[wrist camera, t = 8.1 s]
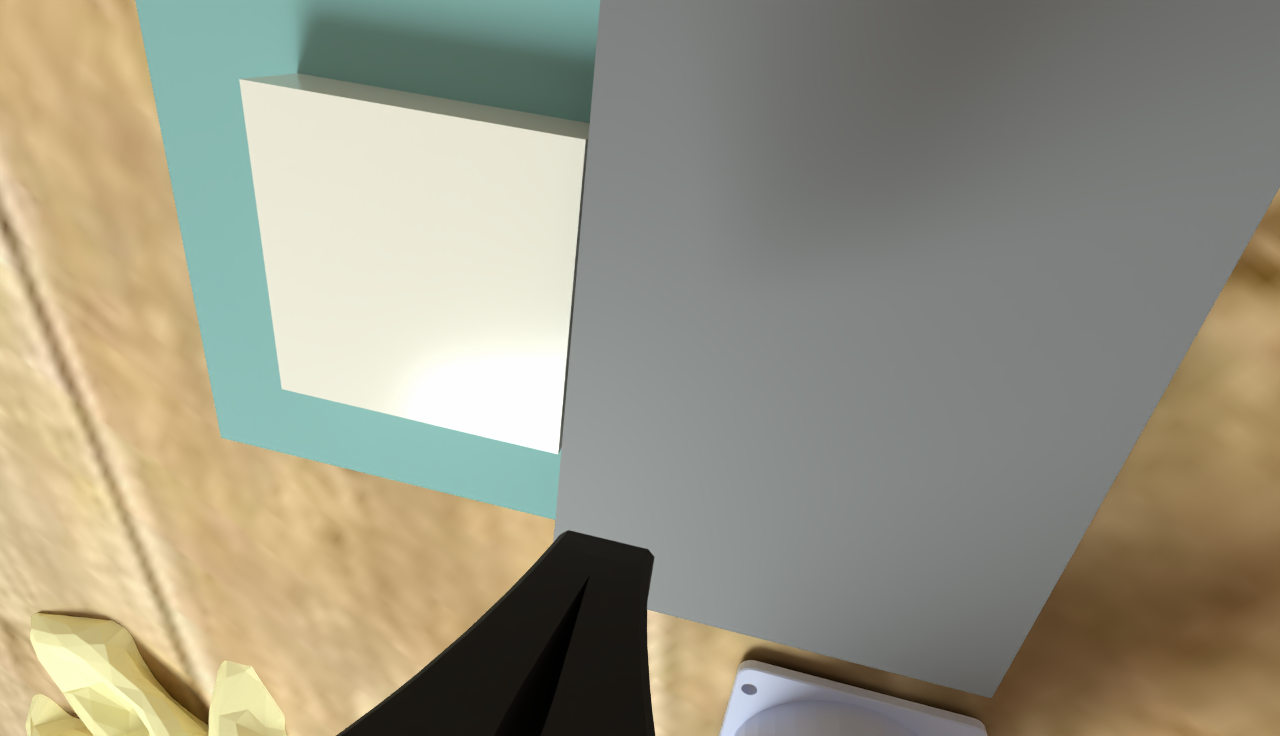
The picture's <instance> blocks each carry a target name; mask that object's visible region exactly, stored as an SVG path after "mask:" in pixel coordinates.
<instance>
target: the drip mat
mask: <svg viewBox="0 0 1280 736" xmlns="http://www.w3.org/2000/svg"><path fill="white" fill-rule="evenodd" d="M135 1H136V6H137V11H138V16H139V21H140V26H141V31H142V36H143V41H144V46H145V51H146V57H147V62H148V67H149V72H150V77H151V82H152V87H153V92H154V97H155V102H156V108H157V113H158V118H159V123H160V128H161V133H162V138H163V143H164V148H165V153H166V159H167V164H168V169H169V174H170V179H171V184H172V189H173V194H174V199H175V204H176V209H177V215H178V220H179V225H180V230H181V235H182V240H183V245H184V250H185V255H186V260H187V266H188V271H189V276H190V281H191V286H192V291H193V296H194V301H195V306H196V311H197V316H198V322H199V327H200V332H201V337H202V342H203V347H204V352H205V357H206V362H207V367H208V373H209V378H210V383H211V388H212V393H213V398H214V403H215V408H216V413H217V418H218V424H219V429H220V434H221V438H225V439H229V440H233V441H237V442H241V443H245V444H249V445H253V446H257V447H261V448H265V449H269V450H273V451H277V452H282V453H286V454H290V455H294V456H298V457H302V458H306V459H310V460H314V461H318V462H322V463H326V464H330V465H334V466H338V467H343V468H347V469H351V470H355V471H359V472H363V473H367V474H371V475H375V476H379V477H383V478H387V479H391V480H395V481H399V482H404V483H408V484H412V485H416V486H420V487H424V488H428V489H432V490H436V491H440V492H444V493H448V494H452V495H456V496H460V497H465V498H469V499H473V500H477V501H481V502H485V503H489V504H493V505H497V506H501V507H505V508H509V509H513V510H517V511H521V512H526V513H530V514H534V515H538V516H542V517H546V518H550V519H554V520H555V518H556V507H557V495H558V484H559V472H560V461H561V450H560V452H559V454H555V453H551V452H547V451H542V450H538V449H534V448H530V447H525V446H521V445H517V444H513V443H508V442H504V441H500V440H496V439H491V438H487V437H483V436H479V435H474V434H470V433H466V432H462V431H457V430H453V429H449V428H445V427H441V426H436V425H432V424H428V423H424V422H419V421H415V420H411V419H407V418H402V417H398V416H394V415H390V414H385V413H381V412H377V411H373V410H368V409H364V408H360V407H356V406H351V405H347V404H343V403H339V402H334V401H330V400H326V399H322V398H318V397H313V396H309V395H305V394H301V393H296V392H292V391H288V390H284V389H282V387H281V380H280V373H279V366H278V358H277V351H276V344H275V336H274V329H273V322H272V315H271V307H270V300H269V293H268V285H267V278H266V271H265V264H264V256H263V249H262V242H261V235H260V227H259V220H258V213H257V205H256V198H255V191H254V184H253V176H252V169H251V162H250V154H249V147H248V140H247V133H246V125H245V118H244V111H243V103H242V96H241V89H240V82H239V79H245V78H255V77H265V76H274V75H284V74H293V73H299V74H305V75H311V76H317V77H323V78H329V79H334V80H340V81H346V82H352V83H358V84H364V85H369V86H375V87H381V88H387V89H393V90H399V91H404V92H410V93H416V94H422V95H428V96H434V97H439V98H445V99H451V100H457V101H463V102H469V103H474V104H480V105H486V106H492V107H498V108H504V109H509V110H515V111H521V112H527V113H533V114H539V115H544V116H550V117H556V118H562V119H568V120H574V121H579V122H585V123H590V114H591V102H592V91H593V79H594V67H595V56H596V44H597V33H598V21H599V10H600V0H135ZM561 449H562V448H561Z"/></svg>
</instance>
